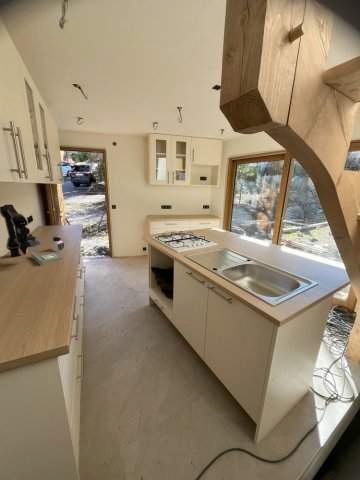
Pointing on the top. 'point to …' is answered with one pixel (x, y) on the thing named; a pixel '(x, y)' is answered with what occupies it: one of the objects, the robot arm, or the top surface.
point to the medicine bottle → (57, 244)
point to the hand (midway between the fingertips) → (24, 253)
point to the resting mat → (49, 257)
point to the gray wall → (36, 258)
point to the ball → (22, 252)
